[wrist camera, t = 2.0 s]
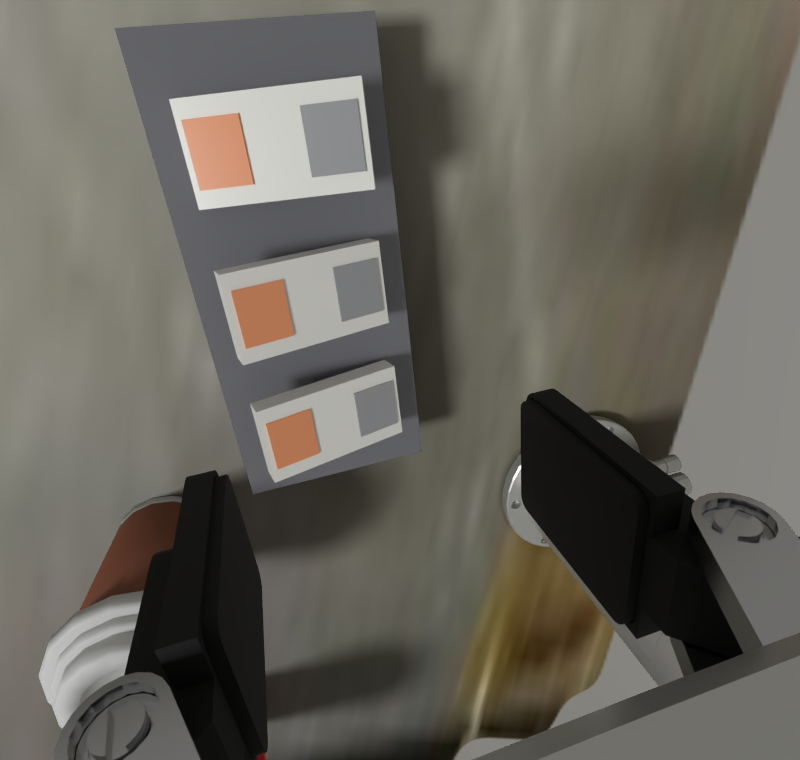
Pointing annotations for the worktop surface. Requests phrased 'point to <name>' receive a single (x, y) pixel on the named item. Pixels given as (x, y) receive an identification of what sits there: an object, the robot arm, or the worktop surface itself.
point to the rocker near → (276, 142)
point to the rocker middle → (303, 298)
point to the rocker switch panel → (277, 207)
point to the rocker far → (327, 419)
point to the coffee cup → (107, 610)
